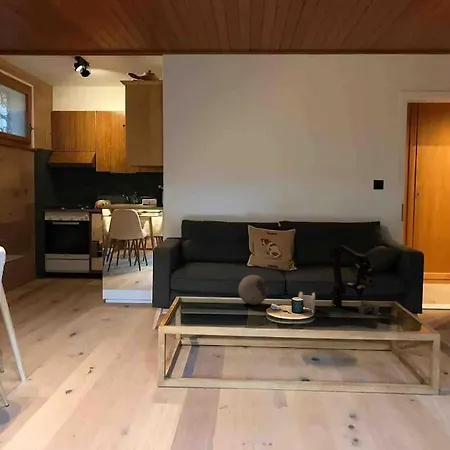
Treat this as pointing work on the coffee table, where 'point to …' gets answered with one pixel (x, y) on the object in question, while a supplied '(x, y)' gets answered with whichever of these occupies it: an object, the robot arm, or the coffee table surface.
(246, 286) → the moon model
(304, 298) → the cable organizer
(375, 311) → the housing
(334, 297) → the robot arm
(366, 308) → the plug
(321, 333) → the coffee table surface
